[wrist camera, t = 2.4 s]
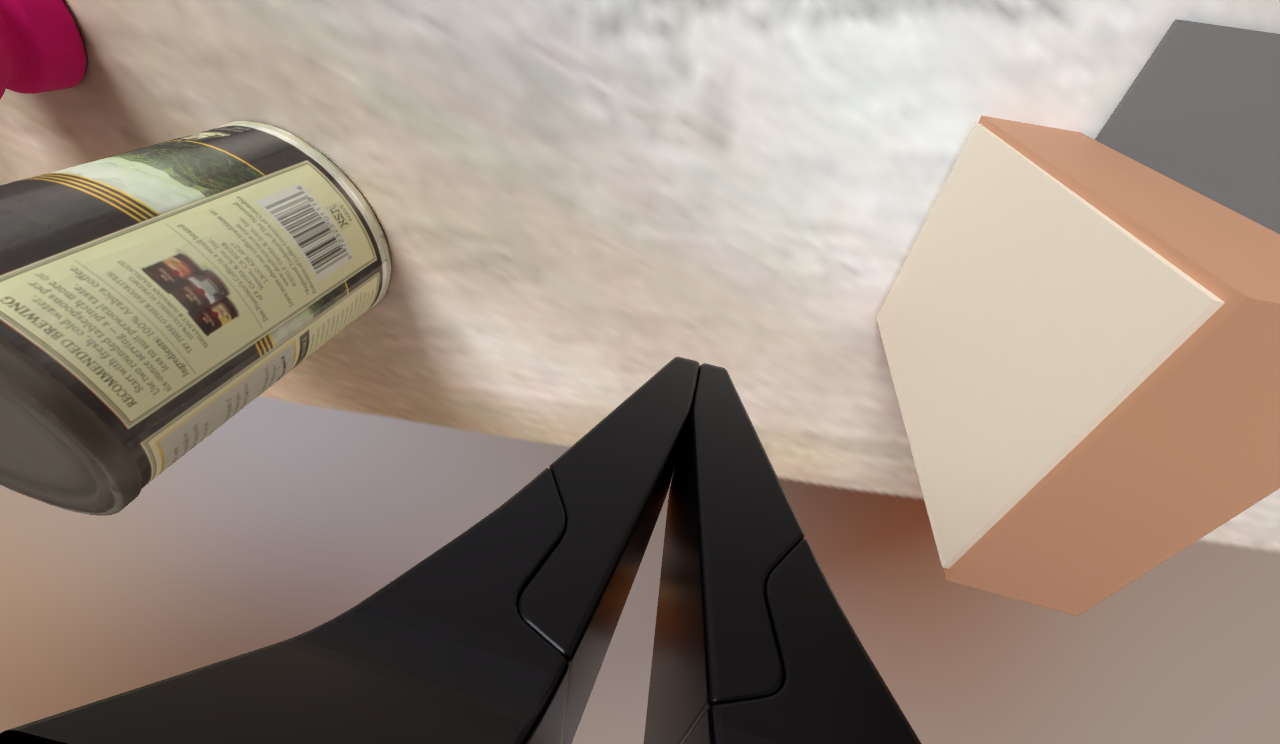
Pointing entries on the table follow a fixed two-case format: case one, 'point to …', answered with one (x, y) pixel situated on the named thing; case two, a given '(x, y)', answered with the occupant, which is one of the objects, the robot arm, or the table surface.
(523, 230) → the table surface
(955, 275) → the beige rectangular block
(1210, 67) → the placemat
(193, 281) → the coffee can
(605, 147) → the table surface
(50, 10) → the pepper mill
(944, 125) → the table surface
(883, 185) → the table surface
